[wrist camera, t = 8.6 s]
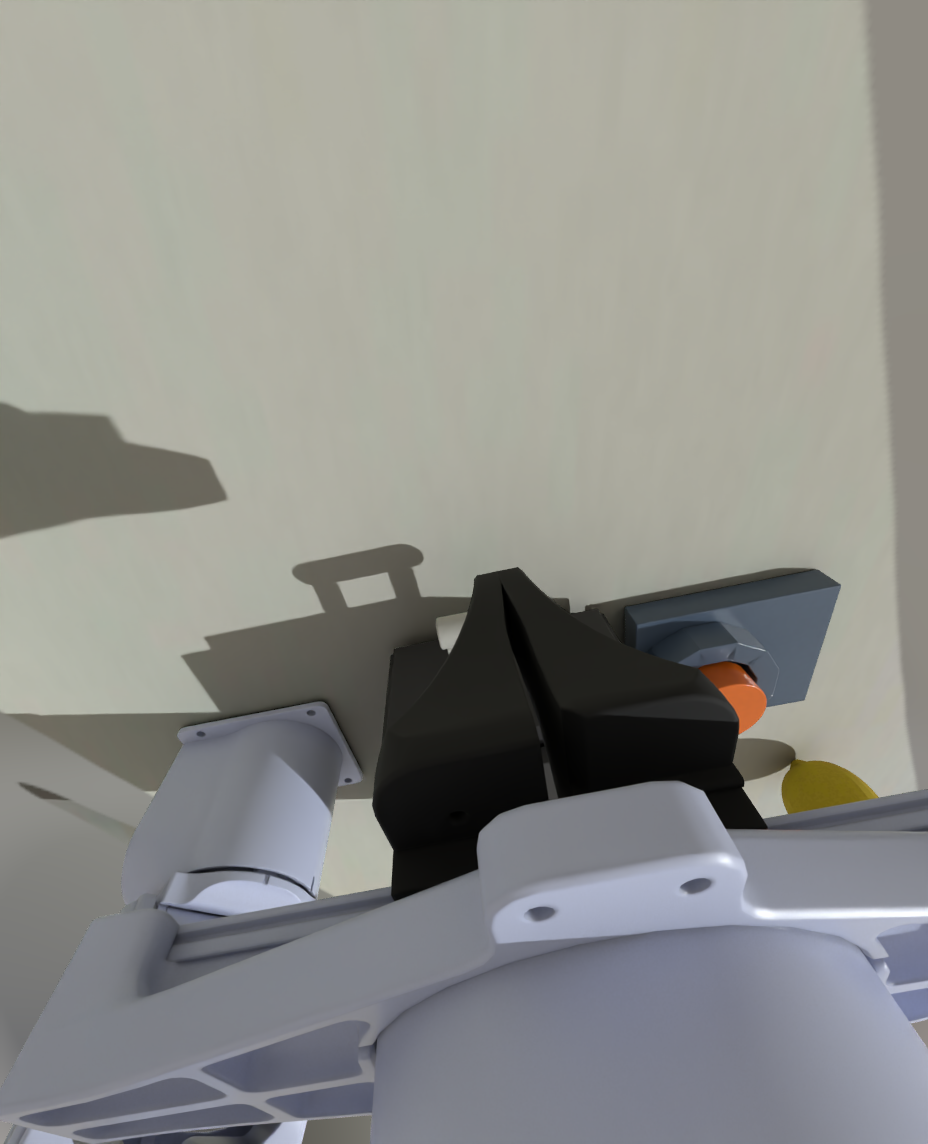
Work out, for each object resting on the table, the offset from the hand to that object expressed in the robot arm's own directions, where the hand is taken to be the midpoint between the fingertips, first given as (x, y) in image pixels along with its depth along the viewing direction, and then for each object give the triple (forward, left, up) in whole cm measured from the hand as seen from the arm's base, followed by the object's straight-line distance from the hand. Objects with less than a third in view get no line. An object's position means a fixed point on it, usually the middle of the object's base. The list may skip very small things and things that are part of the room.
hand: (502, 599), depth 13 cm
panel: (+13, -13, -9) cm, 20 cm away
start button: (+11, -13, -6) cm, 18 cm away
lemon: (+21, -27, -9) cm, 35 cm away
